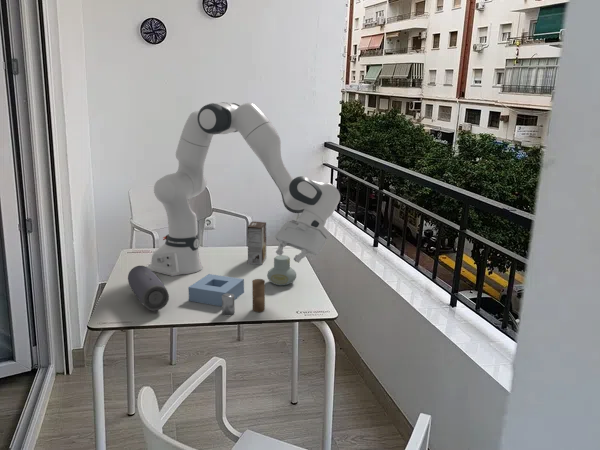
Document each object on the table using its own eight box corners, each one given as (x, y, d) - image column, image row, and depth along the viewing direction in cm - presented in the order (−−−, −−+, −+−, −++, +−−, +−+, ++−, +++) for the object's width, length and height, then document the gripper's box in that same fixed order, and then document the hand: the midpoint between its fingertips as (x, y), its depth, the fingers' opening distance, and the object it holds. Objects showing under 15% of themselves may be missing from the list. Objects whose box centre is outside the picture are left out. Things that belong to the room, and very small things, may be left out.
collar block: (188, 300, 175) (188, 287, 174) (209, 286, 188) (208, 273, 187) (225, 307, 171) (225, 292, 170) (244, 292, 184) (243, 279, 182)
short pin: (219, 314, 165) (219, 297, 163) (225, 309, 169) (225, 292, 167) (231, 316, 164) (230, 298, 162) (236, 311, 167) (236, 294, 166)
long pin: (250, 311, 168) (250, 282, 165) (255, 306, 172) (255, 278, 169) (261, 313, 167) (261, 284, 164) (266, 308, 170) (266, 279, 168)
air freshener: (298, 280, 197) (298, 255, 194) (293, 287, 189) (294, 262, 186) (270, 277, 198) (270, 253, 196) (265, 285, 191) (265, 259, 188)
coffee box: (252, 257, 223) (251, 221, 219) (266, 258, 222) (266, 221, 218) (247, 263, 214) (246, 226, 210) (262, 264, 213) (262, 227, 209)
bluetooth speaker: (171, 311, 167) (170, 282, 164) (142, 317, 162) (140, 287, 160) (153, 288, 186) (152, 262, 184) (127, 292, 182) (125, 266, 179)
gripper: (285, 213, 182) (262, 245, 178) (324, 225, 167) (301, 260, 163) (294, 224, 186) (273, 255, 182) (334, 236, 171) (311, 270, 167)
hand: (286, 257), depth 173 cm, fingers open, 8 cm apart
